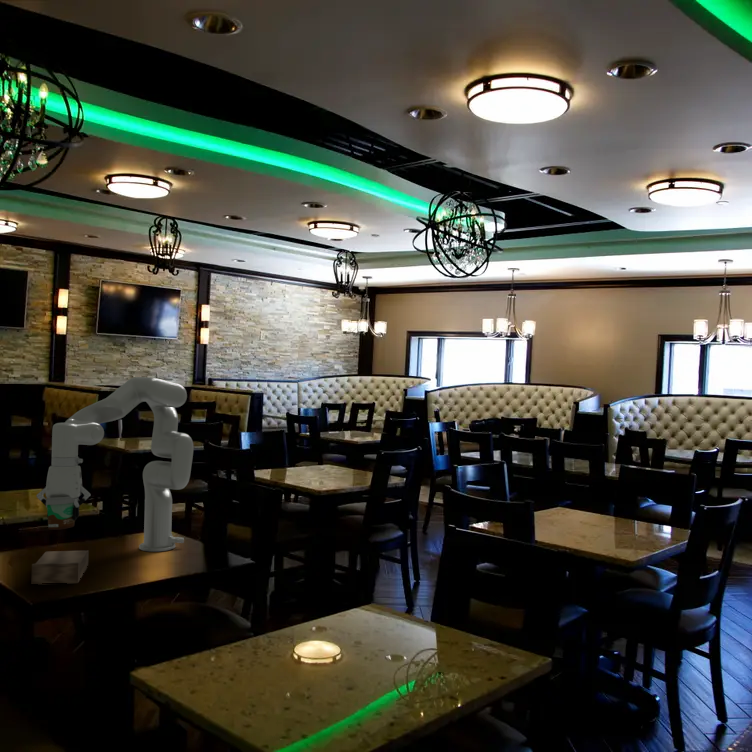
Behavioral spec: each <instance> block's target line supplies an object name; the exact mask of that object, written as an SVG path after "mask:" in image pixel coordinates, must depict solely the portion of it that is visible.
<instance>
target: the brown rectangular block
mask: <svg viewBox="0 0 752 752" xmlns="http://www.w3.org/2000/svg"><path fill="white" fill-rule="evenodd" d="M89 552H90V551H89V550H61V551H60V550H55V551H51V550H49V551H48V550H47V551H45V552H44V553H43V554H42V556H40V558H39V559H38V560H37V561H36V562H35V563H31V576H30V577H31V583H30V584H38V585H43V584H42V583H67V584H79V582H80V581H81V579H82V577H83V576H84V574H85V572H86V571H87V569H88V567H89ZM87 566H88V567H87ZM83 573H84V574H83ZM80 578H81V579H80Z"/></svg>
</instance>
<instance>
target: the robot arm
mask: <svg viewBox="0 0 752 752" xmlns="http://www.w3.org/2000/svg"><path fill="white" fill-rule="evenodd" d="M187 393H188V392H187V390H186V388H185V387H184V386H183V385H182V384H180V383H177V382H173V381H169V380H164V379H160V378H157V377H149V376H148V377H147V376H146V377H144V376H136V377H131V378H130V379H128V380H126V381H125V382H124V383H123V384H121V386H118V388H116V390H115V391H113V392H112V393H111V394H109V395H108V396H107V397H106V398H103V399H102V400H99V401H96V402H94V403H92V404H89V405H87V406H85V407H83V408H82V409H80V410H78V411H77V412H75V413H73V414H72V415H71V416H70V417H69V418H68V419H66V420H65V422H56V423H55V424H53V426H52V430H51V431H52V433H51V436H52V437H51V465H50V466H49V467H48V471H47V476H46V483H45V485H46V486H45V487H44V488H43V489H42V490H41V491H39V492H38V493H37V494H36V498H37V499H38V500H39V501H41V503H42V504H43V505H44V506H45V508H47V505H46V500H47V498H58V497H68V496H70V497H71V498H73V499H74V501H75V502H74V508H73V520H75V521H76V520H77V519H78V518H79V517H80V506H81V505H82V504H84V503H85V501H87V500H88V499H89V497H91V493H90V492H89V491H88V490H87V489H86V488H85V487H84V486H83V479H82V478H83V477H82V475H83V474H82V468H81V466H80V465H79V464H82V463H83V462H84V459H83V458H80V457H79V456H78V455H79V445H82V446H83V445H85V446H86V445H87V446H94V445H96V444H98V443H100V442H101V441H102V440H103V439H104V436H105V431H104V427H103V426H102V425H101V424H103V423H109V422H113V421H114V422H115V421H116V420H120V419H122V418H123V419H124V417H126V415H128V414H129V413H130V412H132V410H133V409H134V408H136V407H137V406H138V405H139V404H141V403H143V402H146V404H147V405H148V406H149V408H150V409H151V411H152V413H153V429H152V436H151V443H150V450H151V453H152V454H153V455H154V456H156V457H159V458H166V459H171V461H165V460H164V461H163V460H152V461H150V462H148V463H147V464H146V465H145V466H144V468H143V471H142V480H143V486H144V522H143V523H144V524H143V525H144V526H143V527H144V529H143V542H142V543H140V544H139V545H138V549H139V550H141V551H144V552H150V553H151V552H152V553H153V552H154V553H155V552H167V551H171V550H173V549H175V548H176V544H177V543H178V544H184V543H185V538H184V537H181V536H174V535H173V533H172V522H173V521H172V520H173V518H172V516H173V515H172V514H173V496H172V493H171V490H176V491H177V490H179V491H180V490H183V489H185V487H187V485H188V484H189V481H190V478H191V473H192V472H191V471H192V464H193V458H194V457H193V456H194V447H195V446H194V441H193V439H192V437H191V436H190V435H189V434H188V433H186V432H179V431H178V430H179V429H178V426H179V415H178V412H177V409H176V408H180V407H181V406H183V405H184V404H185V403H186V402H187V398H188V394H187ZM82 494H83V497H81V499H78V500H77V498H80V496H82ZM44 495H45V496H44ZM46 517H47V519H48V513H47V512H46Z"/></svg>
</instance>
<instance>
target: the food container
mask: <svg viewBox="0 0 752 752" xmlns="http://www.w3.org/2000/svg"><path fill="white" fill-rule="evenodd" d="M79 498H80V497H78V498H77V500H78V499H79ZM46 499H47V500H46V505H47V507H46V509H47V510H46V514H47V513H48V518H47V525H48V526H47V527H48V530H54V531H55V530H65V529H70V528H74V527H75V522H76V520H73V508H74V502H75V501H74V499H73V498H71V497H70V496H68V497H58V498H47V497H46ZM79 500H80V499H79Z"/></svg>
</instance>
